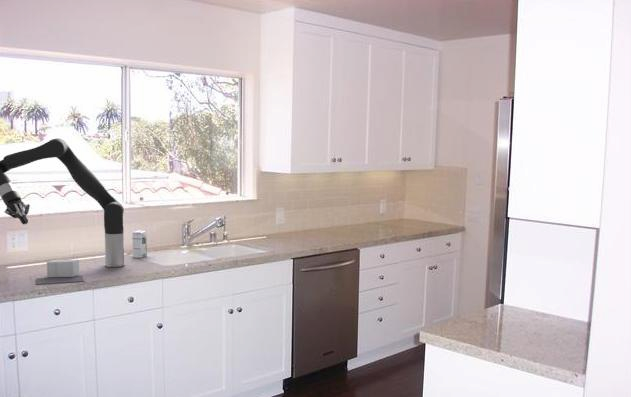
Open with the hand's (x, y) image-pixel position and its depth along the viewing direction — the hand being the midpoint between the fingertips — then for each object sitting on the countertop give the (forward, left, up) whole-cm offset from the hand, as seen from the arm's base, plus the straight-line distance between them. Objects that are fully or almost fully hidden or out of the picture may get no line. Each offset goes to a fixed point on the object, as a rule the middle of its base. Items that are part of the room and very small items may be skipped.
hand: (25, 223), depth 286 cm
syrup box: (-56, -23, -24) cm, 65 cm away
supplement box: (-10, +13, -20) cm, 26 cm away
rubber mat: (-15, +23, -24) cm, 36 cm away
